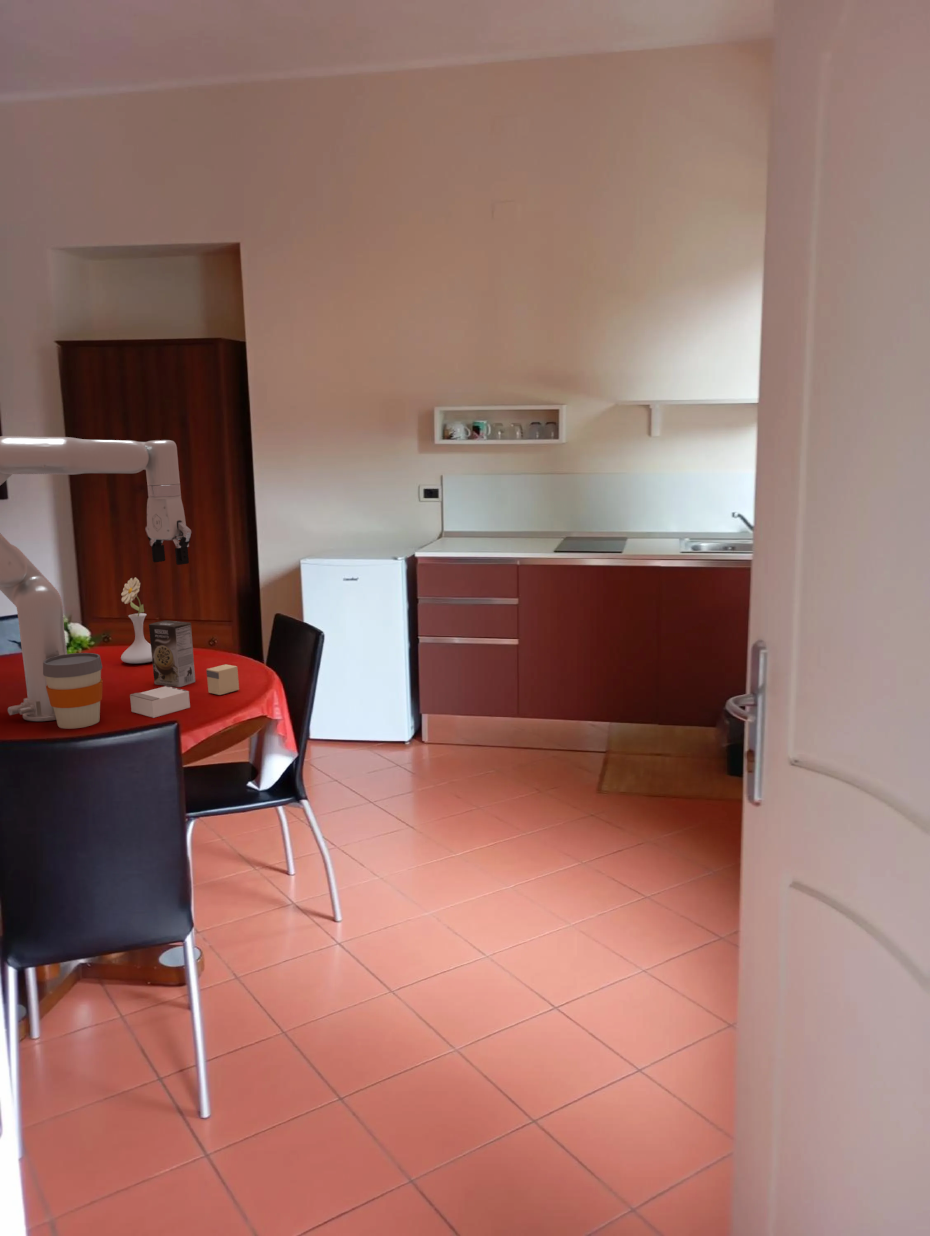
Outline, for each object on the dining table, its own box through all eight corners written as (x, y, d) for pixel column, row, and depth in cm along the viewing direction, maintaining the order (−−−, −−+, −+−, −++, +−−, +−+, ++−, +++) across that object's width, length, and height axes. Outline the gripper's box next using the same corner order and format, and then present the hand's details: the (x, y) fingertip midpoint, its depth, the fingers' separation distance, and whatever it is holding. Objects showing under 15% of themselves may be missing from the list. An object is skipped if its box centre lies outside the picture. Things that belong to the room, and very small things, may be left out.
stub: (219, 695, 245) (217, 671, 244) (208, 692, 248) (206, 669, 247) (239, 689, 249) (237, 666, 248) (228, 687, 252) (226, 664, 251)
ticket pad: (153, 717, 228) (151, 700, 227) (131, 711, 234) (129, 694, 233) (190, 707, 236) (188, 690, 235) (168, 701, 241) (166, 685, 241)
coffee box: (153, 684, 259) (147, 624, 256) (171, 678, 264) (165, 619, 261) (179, 687, 255) (173, 626, 252) (196, 681, 260) (191, 621, 257)
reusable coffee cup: (89, 731, 219) (82, 665, 216) (37, 730, 221) (29, 665, 219) (118, 715, 231) (111, 652, 228) (69, 714, 234) (62, 652, 231)
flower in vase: (119, 660, 288) (110, 575, 283) (159, 655, 293) (151, 571, 288) (124, 669, 276) (115, 581, 272) (166, 664, 281) (158, 577, 276)
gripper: (130, 492, 241) (137, 562, 244) (172, 493, 230) (178, 567, 233) (157, 490, 246) (163, 558, 249) (199, 491, 235) (205, 563, 239)
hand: (170, 562), depth 241 cm, fingers open, 9 cm apart
